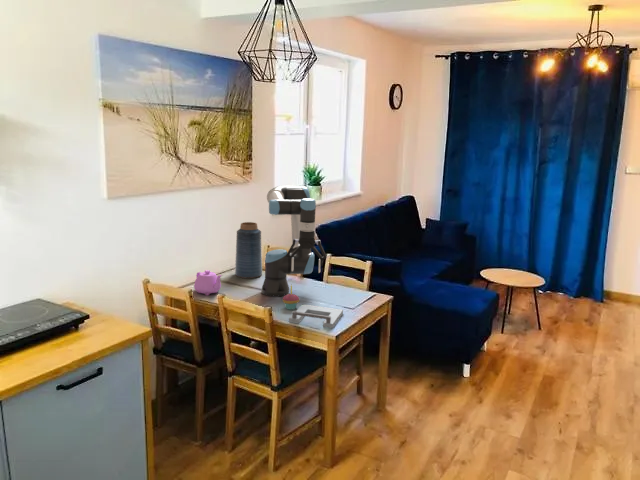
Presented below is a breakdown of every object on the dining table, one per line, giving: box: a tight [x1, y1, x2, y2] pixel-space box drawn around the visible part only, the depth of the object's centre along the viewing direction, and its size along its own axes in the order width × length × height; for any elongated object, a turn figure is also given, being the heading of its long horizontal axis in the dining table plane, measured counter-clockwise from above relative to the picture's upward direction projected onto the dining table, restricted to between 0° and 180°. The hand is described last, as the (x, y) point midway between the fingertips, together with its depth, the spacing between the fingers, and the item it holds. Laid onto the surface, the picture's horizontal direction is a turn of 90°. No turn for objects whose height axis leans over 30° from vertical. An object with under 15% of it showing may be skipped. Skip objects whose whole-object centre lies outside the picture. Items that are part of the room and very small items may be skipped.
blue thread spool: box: [234, 221, 263, 279], centre depth 314 cm, size 16×16×32 cm
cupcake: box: [282, 283, 300, 310], centre depth 262 cm, size 9×8×12 cm
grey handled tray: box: [288, 304, 344, 329], centre depth 251 cm, size 21×20×5 cm
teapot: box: [193, 269, 223, 296], centre depth 281 cm, size 20×14×12 cm
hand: (305, 271), depth 263 cm, fingers open, 13 cm apart
